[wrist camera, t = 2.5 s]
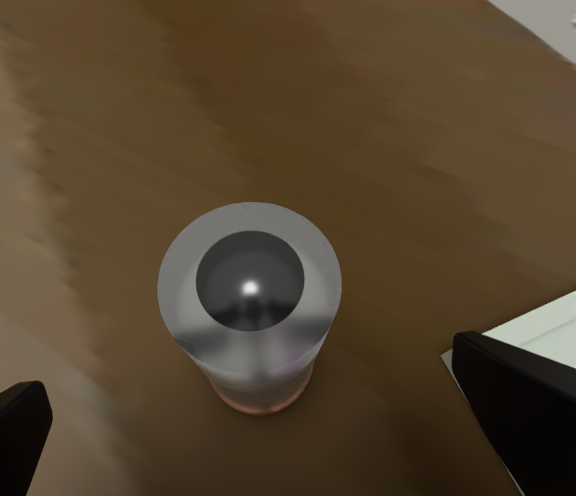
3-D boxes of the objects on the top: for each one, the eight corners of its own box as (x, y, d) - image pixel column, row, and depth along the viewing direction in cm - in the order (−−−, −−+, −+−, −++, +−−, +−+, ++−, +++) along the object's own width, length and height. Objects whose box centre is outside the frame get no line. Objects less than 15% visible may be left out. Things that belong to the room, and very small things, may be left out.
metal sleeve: (229, 434, 17) (182, 416, 8) (197, 334, 19) (130, 230, 10) (327, 390, 18) (383, 330, 9) (287, 299, 20) (300, 175, 11)
